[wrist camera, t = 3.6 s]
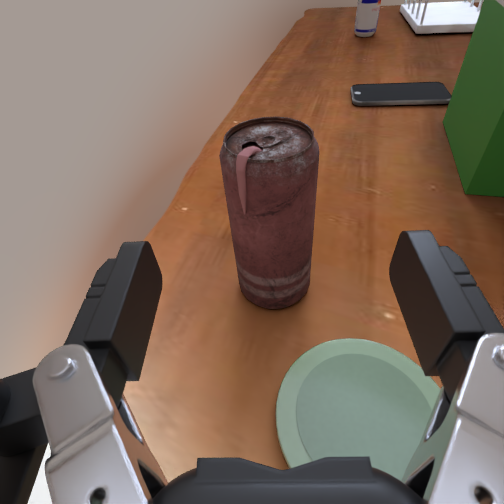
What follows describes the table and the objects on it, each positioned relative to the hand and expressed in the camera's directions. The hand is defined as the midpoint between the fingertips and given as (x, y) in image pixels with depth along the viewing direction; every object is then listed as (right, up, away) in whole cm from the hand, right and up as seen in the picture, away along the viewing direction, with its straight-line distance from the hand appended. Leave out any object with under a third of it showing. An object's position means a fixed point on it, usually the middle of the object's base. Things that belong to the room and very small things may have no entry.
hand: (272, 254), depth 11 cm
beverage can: (+27, +53, +72) cm, 93 cm away
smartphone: (+24, +26, +45) cm, 57 cm away
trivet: (+6, -11, +10) cm, 16 cm away
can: (+1, -3, +19) cm, 19 cm away
